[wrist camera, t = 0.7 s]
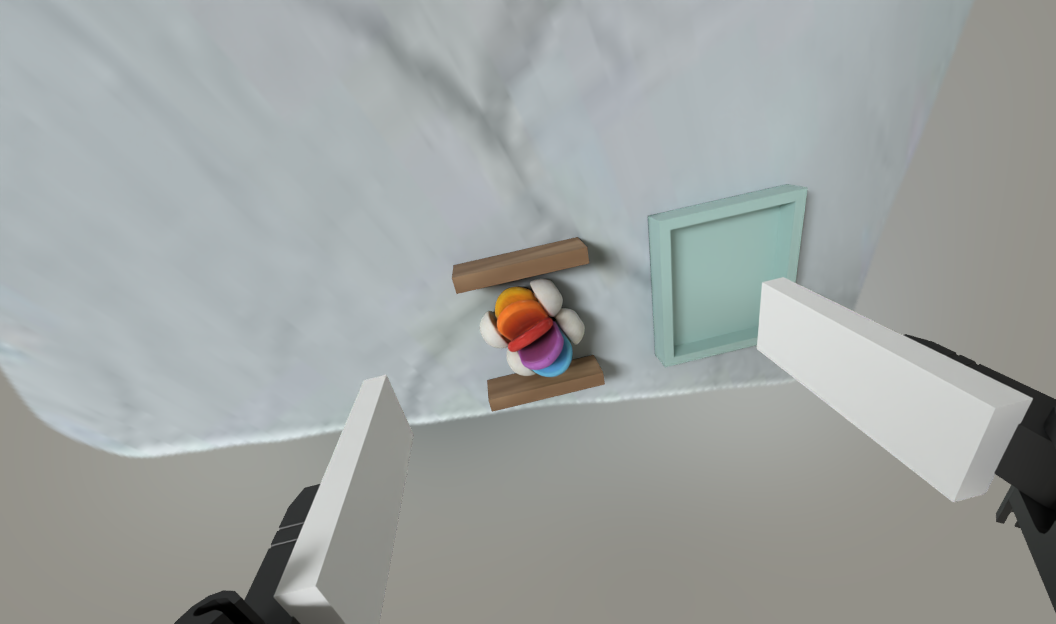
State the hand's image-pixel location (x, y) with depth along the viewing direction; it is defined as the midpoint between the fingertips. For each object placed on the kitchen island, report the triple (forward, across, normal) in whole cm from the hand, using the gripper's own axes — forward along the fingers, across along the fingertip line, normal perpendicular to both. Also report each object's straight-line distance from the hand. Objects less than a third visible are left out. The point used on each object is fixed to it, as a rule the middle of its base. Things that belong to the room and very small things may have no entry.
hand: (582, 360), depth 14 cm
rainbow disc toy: (+25, -1, -11) cm, 27 cm away
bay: (+24, -1, -11) cm, 27 cm away
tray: (+24, +19, -11) cm, 33 cm away
